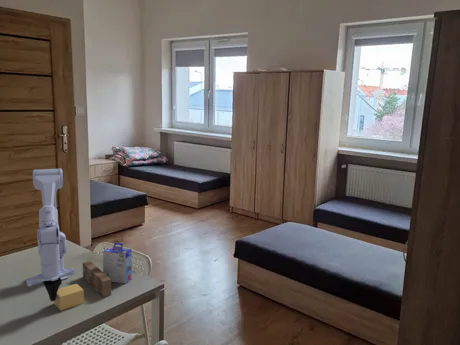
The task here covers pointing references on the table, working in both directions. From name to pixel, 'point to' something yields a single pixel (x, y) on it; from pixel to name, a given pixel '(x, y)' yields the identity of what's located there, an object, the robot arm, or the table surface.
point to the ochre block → (69, 296)
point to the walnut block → (97, 278)
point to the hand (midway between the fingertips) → (52, 299)
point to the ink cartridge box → (118, 263)
